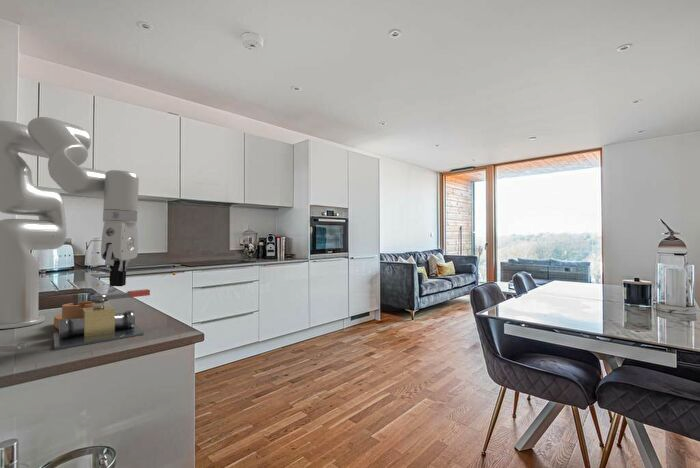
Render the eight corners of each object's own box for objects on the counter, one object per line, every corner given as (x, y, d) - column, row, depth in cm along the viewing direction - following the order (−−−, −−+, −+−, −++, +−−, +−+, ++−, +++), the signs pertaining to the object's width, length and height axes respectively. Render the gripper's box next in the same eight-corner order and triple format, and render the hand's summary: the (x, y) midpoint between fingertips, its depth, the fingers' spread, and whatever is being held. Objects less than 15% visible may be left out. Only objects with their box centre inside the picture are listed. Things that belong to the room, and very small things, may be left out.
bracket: (103, 327, 94) (103, 302, 95) (65, 333, 88) (66, 307, 88) (85, 319, 106) (85, 297, 106) (51, 324, 99) (51, 301, 99)
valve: (53, 335, 88) (53, 301, 88) (132, 323, 101) (133, 294, 101) (54, 349, 77) (55, 311, 77) (143, 334, 90) (144, 301, 90)
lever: (92, 302, 87) (92, 296, 87) (89, 300, 90) (89, 294, 90) (150, 295, 98) (150, 290, 98) (146, 293, 100) (146, 288, 100)
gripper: (121, 217, 82) (118, 291, 82) (147, 219, 97) (145, 281, 97) (87, 215, 81) (84, 290, 81) (119, 217, 95) (116, 281, 96)
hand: (117, 285), depth 89 cm, fingers closed
